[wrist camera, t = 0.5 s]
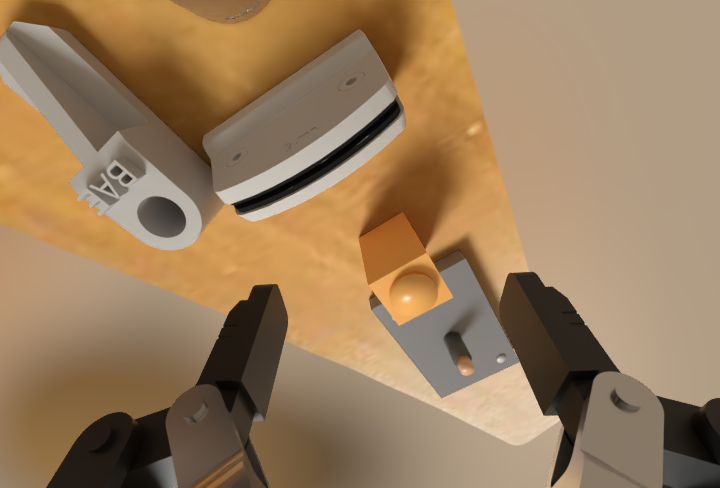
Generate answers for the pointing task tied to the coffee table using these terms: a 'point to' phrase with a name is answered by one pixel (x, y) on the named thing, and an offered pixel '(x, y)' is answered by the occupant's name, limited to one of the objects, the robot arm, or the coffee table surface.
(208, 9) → the robot arm
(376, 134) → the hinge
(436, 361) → the riveted grey base plate
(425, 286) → the orange dome-topped block
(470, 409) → the coffee table surface
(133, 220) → the grey mounting bracket
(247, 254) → the coffee table surface
